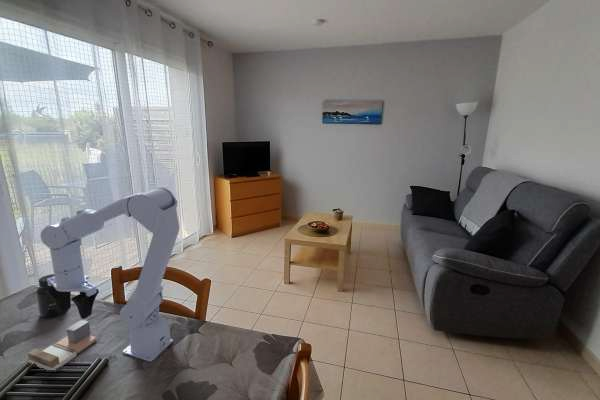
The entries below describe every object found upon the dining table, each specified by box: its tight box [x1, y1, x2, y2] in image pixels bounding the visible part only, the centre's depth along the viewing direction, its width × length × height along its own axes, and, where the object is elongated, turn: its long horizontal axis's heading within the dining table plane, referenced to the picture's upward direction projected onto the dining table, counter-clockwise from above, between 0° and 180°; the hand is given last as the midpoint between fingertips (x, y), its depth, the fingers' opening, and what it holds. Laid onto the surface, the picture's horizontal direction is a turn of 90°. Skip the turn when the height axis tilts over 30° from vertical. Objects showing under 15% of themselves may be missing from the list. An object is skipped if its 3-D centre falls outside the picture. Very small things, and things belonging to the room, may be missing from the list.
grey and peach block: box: [55, 319, 97, 354], centre depth 74 cm, size 8×5×5 cm
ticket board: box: [27, 343, 78, 370], centre depth 69 cm, size 8×6×3 cm
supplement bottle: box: [35, 273, 65, 319], centre depth 85 cm, size 7×7×12 cm
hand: (75, 313), depth 73 cm, fingers open, 7 cm apart
